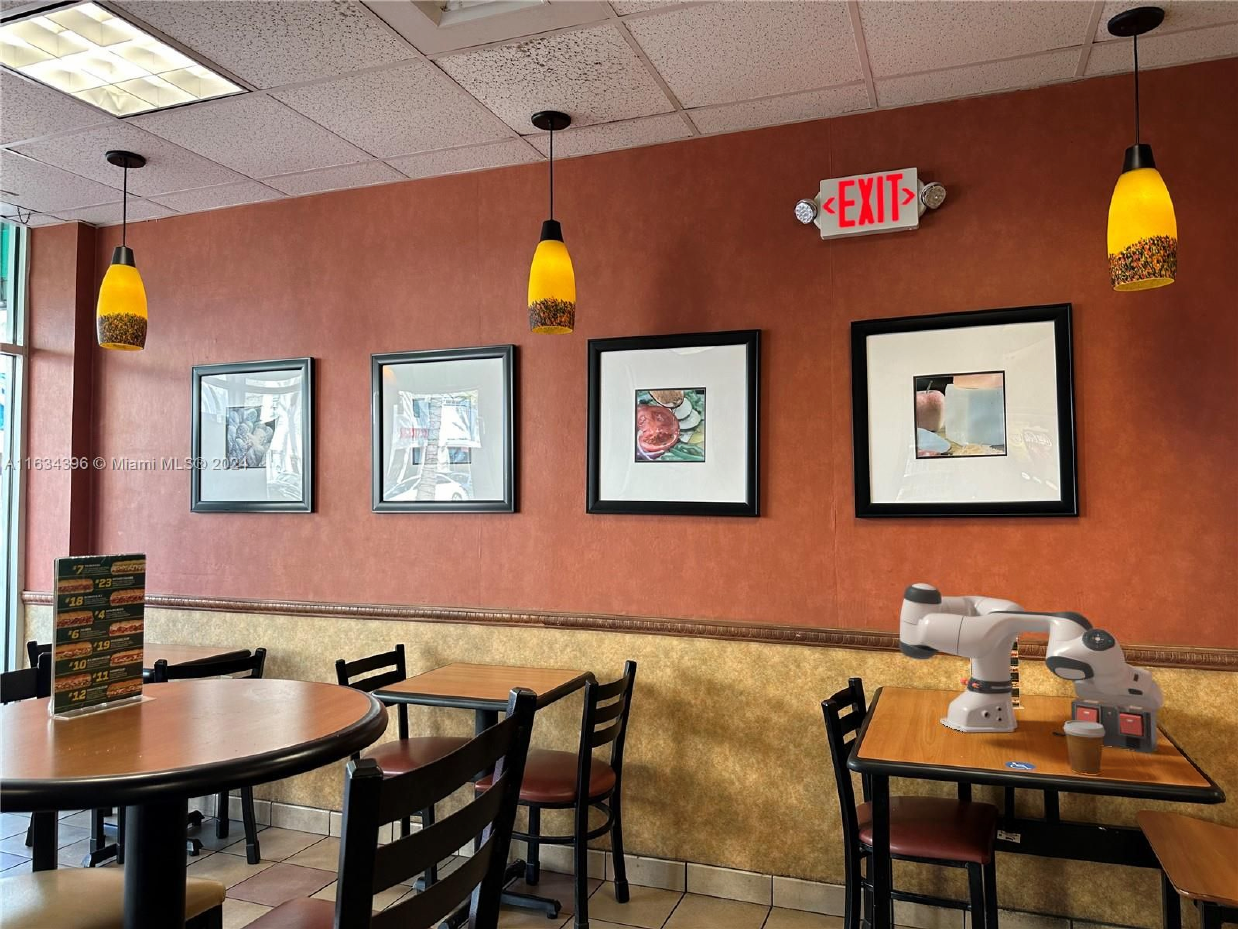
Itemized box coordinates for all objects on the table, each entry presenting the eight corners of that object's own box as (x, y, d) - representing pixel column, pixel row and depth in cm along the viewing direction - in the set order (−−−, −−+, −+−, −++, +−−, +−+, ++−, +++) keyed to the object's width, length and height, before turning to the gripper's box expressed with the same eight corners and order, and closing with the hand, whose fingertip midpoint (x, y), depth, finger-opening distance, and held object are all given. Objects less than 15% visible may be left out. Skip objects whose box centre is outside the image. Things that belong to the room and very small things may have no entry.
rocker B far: (1142, 733, 239) (1141, 716, 238) (1141, 735, 238) (1139, 718, 237) (1122, 730, 242) (1120, 713, 242) (1120, 732, 241) (1119, 715, 241)
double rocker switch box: (1157, 749, 242) (1155, 708, 242) (1151, 755, 237) (1149, 712, 237) (1056, 733, 260) (1055, 694, 260) (1049, 737, 255) (1048, 698, 255)
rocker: (1097, 728, 245) (1097, 710, 247) (1095, 728, 245) (1096, 710, 246) (1077, 725, 249) (1078, 707, 250) (1076, 725, 248) (1077, 707, 249)
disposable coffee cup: (1105, 780, 216) (1104, 731, 217) (1062, 774, 221) (1061, 726, 222) (1107, 770, 224) (1106, 722, 225) (1066, 764, 229) (1065, 718, 230)
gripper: (1065, 681, 232) (1078, 712, 238) (1154, 693, 218) (1164, 725, 224) (1070, 662, 235) (1082, 693, 242) (1158, 672, 221) (1168, 705, 228)
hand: (1122, 709), depth 233 cm, fingers closed
